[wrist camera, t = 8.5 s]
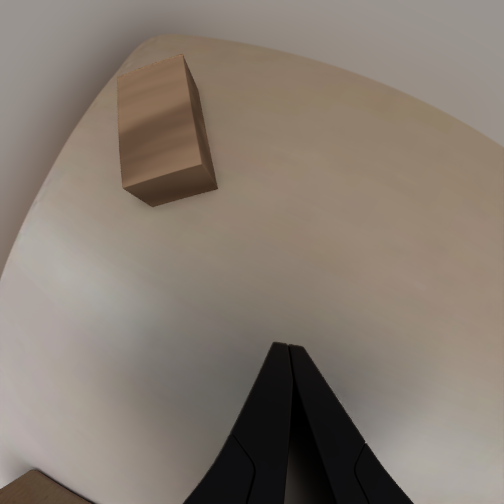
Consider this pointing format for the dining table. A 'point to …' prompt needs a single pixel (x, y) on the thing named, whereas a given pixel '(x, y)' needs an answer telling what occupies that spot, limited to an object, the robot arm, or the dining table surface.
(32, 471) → the wooden block
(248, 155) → the dining table surface
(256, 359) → the dining table surface
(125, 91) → the walnut block
